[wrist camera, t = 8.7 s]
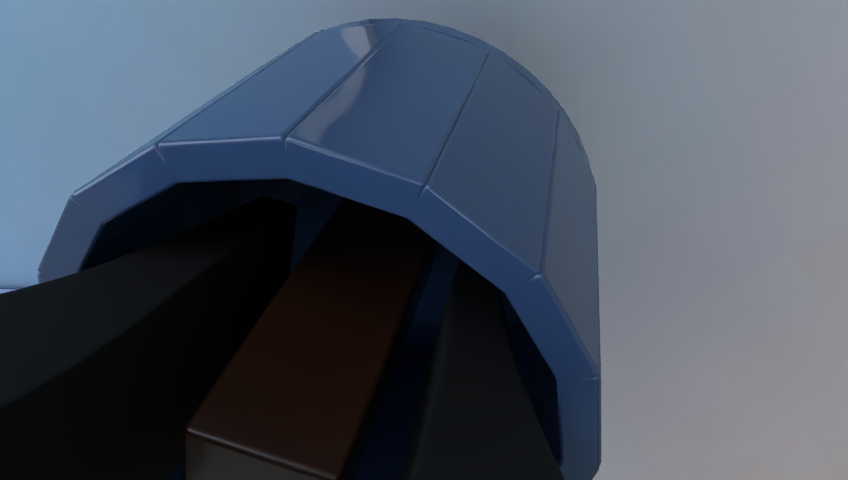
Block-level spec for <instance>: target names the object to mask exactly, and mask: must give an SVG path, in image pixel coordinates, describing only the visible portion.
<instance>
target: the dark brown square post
mask: <svg viewBox="0 0 848 480" xmlns="http://www.w3.org/2000/svg"><path fill="white" fill-rule="evenodd" d="M437 247H438V242H437V241H436V240H434V239H433V238H432V237H430V236H429V235H428V234H426V233H425V232H424V231H423V230H421V229H420V228H419V227H417V226H416V225H415V224H413V223H412V222H411V221H410V220H408V219H407V218H404V217H401V216H398V215H395V214H392V213H389V212H386V211H383V210H380V209H377V208H374V207H371V206H368V205H365V204H362V203H359V202H356V201H353V200H350V199H347V198H343V199H342V201H341V202H340V203H339V205H338V206H337V208H336V209H335V211H334V212H333V214H332V215H331V216H330V218H329V219H328V221H327V222H326V224H325V225H324V226H323V228H322V229H321V231H320V232H319V234H318V235H317V237H316V238H315V239H314V241H313V242H312V244H311V245H310V247H309V248H308V250H307V251H306V252H305V254H304V255H303V257H302V258H301V260H300V261H299V262H298V264H297V265H296V267H295V268H294V270H293V271H292V273H291V274H290V275H289V277H288V278H287V280H286V281H285V283H284V284H283V286H282V287H281V288H280V290H279V291H278V293H277V294H276V296H275V297H274V298H273V300H272V301H271V303H270V304H269V306H268V307H267V309H266V310H265V311H264V313H263V314H262V316H261V317H260V319H259V320H258V322H257V323H256V324H255V326H254V327H253V329H252V330H251V332H250V333H249V334H248V336H247V337H246V339H245V340H244V342H243V343H242V345H241V346H240V347H239V349H238V350H237V352H236V353H235V355H234V356H233V358H232V359H231V360H230V362H229V363H228V365H227V366H226V368H225V369H224V370H223V372H222V373H221V375H220V376H219V378H218V379H217V381H216V382H215V383H214V385H213V386H212V388H211V389H210V391H209V392H208V394H207V395H206V396H205V398H204V399H203V401H202V402H201V404H200V405H199V406H198V408H197V409H196V411H195V412H194V414H193V415H192V417H191V418H190V419H189V421H188V422H187V424H186V425H185V427H184V428H183V480H354V478H355V475H356V473H357V470H358V467H359V464H360V462H361V459H362V456H363V454H364V451H365V448H366V445H367V443H368V440H369V437H370V435H371V432H372V429H373V426H374V424H375V421H376V418H377V416H378V413H379V410H380V407H381V405H382V402H383V399H384V397H385V394H386V391H387V388H388V386H389V383H390V380H391V378H392V375H393V372H394V369H395V367H396V364H397V361H398V359H399V356H400V353H401V350H402V348H403V345H404V342H405V340H406V337H407V334H408V331H409V329H410V326H411V323H412V321H413V318H414V315H415V312H416V310H417V307H418V304H419V302H420V299H421V296H422V293H423V291H424V288H425V285H426V283H427V280H428V277H429V274H430V272H431V269H432V265H433V262H434V258H435V254H436V250H437Z"/></svg>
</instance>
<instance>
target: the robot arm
mask: <svg viewBox="0 0 848 480" xmlns="http://www.w3.org/2000/svg"><path fill="white" fill-rule="evenodd" d="M296 214H297V205H294V204H290V203H287V202H284V201H280V200H277V199H274V198H270V197H267V196H262V197H259V198H257V199H254V200H252V201H250V202H248V203H245V204H243V205H241V206H239V207H237V208H235V209H232V210H230V211H228V212H226V213H224V214H222V215H219V216H217V217H215V218H213V219H211V220H209V221H206V222H204V223H202V224H200V225H197V226H195V227H193V228H191V229H188V230H186V231H184V232H182V233H179V234H177V235H175V236H173V237H170V238H168V239H166V240H163V241H161V242H158V243H156V244H153V245H150V246H148V247H145V248H143V249H140V250H138V251H135V252H133V253H130V254H127V255H125V256H122V257H120V258H117V259H115V260H112V261H110V262H107V263H104V264H101V265H98V266H95V267H92V268H89V269H86V270H83V271H80V272H77V273H74V274H71V275H67V276H64V277H61V278H57V279H54V280H51V281H47V282H44V283H41V284H37V285H34V286H30V287H26V288H22V289H0V480H170V479H171V477H172V475H173V473H174V472H175V470H176V468H177V467H178V465H179V463H180V462H181V460H182V459H183V428H184V427H185V425H186V424H187V422H188V421H189V419H190V418H191V417H192V415H193V414H194V412H195V411H196V409H197V408H198V406H199V405H200V404H201V402H202V401H203V399H204V398H205V396H206V395H207V394H208V392H209V391H210V389H211V388H212V386H213V385H214V383H215V382H216V381H217V379H218V378H219V376H220V375H221V373H222V372H223V370H224V369H225V368H226V366H227V365H228V363H229V362H230V360H231V359H232V358H233V356H234V355H235V353H236V352H237V350H238V349H239V347H240V346H241V345H242V343H243V342H244V340H245V339H246V337H247V336H248V334H249V333H250V332H251V330H252V329H253V327H254V326H255V324H256V323H257V322H258V320H259V319H260V317H261V316H262V314H263V313H264V311H265V310H266V309H267V307H268V306H269V304H270V303H271V301H272V300H273V298H274V297H275V296H276V294H277V293H278V291H279V290H280V288H281V287H282V286H283V284H284V283H285V281H286V280H287V278H288V277H289V275H290V268H291V259H292V250H293V241H294V232H295V223H296ZM402 480H565V478H564V476H563V474H562V472H561V470H560V468H559V466H558V464H557V462H556V460H555V458H554V456H553V454H552V451H551V449H550V447H549V445H548V443H547V440H546V438H545V436H544V434H543V431H542V429H541V427H540V424H539V422H538V419H537V417H536V414H535V412H534V409H533V407H532V404H531V401H530V399H529V396H528V393H527V390H526V387H525V384H524V382H523V379H522V376H521V372H520V369H519V366H518V363H517V359H516V356H515V352H514V348H513V345H512V341H511V337H510V334H509V330H508V325H507V321H506V316H505V311H504V306H503V300H502V294H501V290H500V289H498V288H497V287H496V286H494V285H493V284H492V283H490V282H489V281H488V280H487V279H485V278H484V277H483V276H481V275H480V274H479V273H477V272H476V271H475V270H473V269H472V268H471V267H470V266H468V265H467V264H466V263H464V262H463V261H462V260H460V259H459V261H458V265H457V268H456V271H455V274H454V277H453V281H452V284H451V287H450V291H449V294H448V297H447V301H446V304H445V307H444V311H443V314H442V317H441V321H440V324H439V328H438V331H437V334H436V338H435V341H434V344H433V348H432V351H431V354H430V358H429V361H428V364H427V368H426V371H425V374H424V378H423V381H422V385H421V388H420V391H419V395H418V400H417V405H416V411H415V416H414V421H413V426H412V431H411V436H410V441H409V446H408V451H407V456H406V461H405V466H404V472H403V477H402Z"/></svg>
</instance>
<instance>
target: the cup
mask: <svg viewBox="0 0 848 480" xmlns="http://www.w3.org/2000/svg"><path fill="white" fill-rule="evenodd" d="M262 196H267V197H270V198H274V199H277V200H280V201H284V202H287V203H290V204H294V205H297V214H296V223H295V232H294V241H293V250H292V259H291V268H290V274H291V273H292V271H293V270H294V268H295V267H296V265H297V264H298V262H299V261H300V260H301V258H302V257H303V255H304V254H305V252H306V251H307V250H308V248H309V247H310V245H311V244H312V242H313V241H314V239H315V238H316V237H317V235H318V234H319V232H320V231H321V229H322V228H323V226H324V225H325V224H326V222H327V221H328V219H329V218H330V216H331V215H332V214H333V212H334V211H335V209H336V208H337V206H338V205H339V203H340V202H341V201H342V199H343V198H347V199H350V200H353V201H356V202H359V203H362V204H365V205H368V206H371V207H374V208H377V209H380V210H383V211H386V212H389V213H392V214H395V215H398V216H401V217H404V218H407V219H408V220H410V221H411V222H412V223H413V224H415V225H416V226H417V227H419V228H420V229H421V230H423V231H424V232H425V233H426V234H428V235H429V236H430V237H432V238H433V239H434V240H436V241H437V242H438V247H437V250H436V254H435V258H434V262H433V265H432V269H431V272H430V274H429V277H428V280H427V283H426V285H425V288H424V291H423V293H422V296H421V299H420V302H419V304H418V307H417V310H416V312H415V315H414V318H413V321H412V323H411V326H410V329H409V331H408V334H407V337H406V340H405V342H404V345H403V348H402V350H401V353H400V356H399V359H398V361H397V364H396V367H395V369H394V372H393V375H392V378H391V380H390V383H389V386H388V388H387V391H386V394H385V397H384V399H383V402H382V405H381V407H380V410H379V413H378V416H377V418H376V421H375V424H374V426H373V429H372V432H371V435H370V437H369V440H368V443H367V445H366V448H365V451H364V454H363V456H362V459H361V462H360V464H359V467H358V470H357V473H356V475H355V478H354V480H402V477H403V472H404V466H405V461H406V456H407V451H408V446H409V441H410V436H411V431H412V426H413V421H414V416H415V411H416V405H417V400H418V395H419V391H420V388H421V385H422V381H423V378H424V374H425V371H426V368H427V364H428V361H429V358H430V354H431V351H432V348H433V344H434V341H435V338H436V334H437V331H438V328H439V324H440V321H441V317H442V314H443V311H444V307H445V304H446V301H447V297H448V294H449V291H450V287H451V284H452V281H453V277H454V274H455V271H456V268H457V265H458V261H459V259H460V260H462V261H463V262H464V263H466V264H467V265H468V266H470V267H471V268H472V269H473V270H475V271H476V272H477V273H479V274H480V275H481V276H483V277H484V278H485V279H487V280H488V281H489V282H490V283H492V284H493V285H494V286H496V287H497V288H498V289H500V290H501V294H502V300H503V306H504V311H505V316H506V321H507V325H508V330H509V334H510V337H511V341H512V345H513V348H514V352H515V356H516V359H517V363H518V366H519V369H520V372H521V376H522V379H523V382H524V384H525V387H526V390H527V393H528V396H529V399H530V401H531V404H532V407H533V409H534V412H535V414H536V417H537V419H538V422H539V424H540V427H541V429H542V431H543V434H544V436H545V438H546V440H547V443H548V445H549V447H550V449H551V451H552V454H553V456H554V458H555V460H556V462H557V464H558V466H559V468H560V470H561V472H562V474H563V476H564V478H565V480H592V479H593V478H594V476H595V475H596V473H597V472H598V470H599V466H600V464H601V357H600V317H599V278H598V238H597V199H596V184H595V179H594V177H593V175H592V172H591V168H590V164H589V160H588V157H587V154H586V152H585V149H584V147H583V144H582V142H581V139H580V137H579V135H578V133H577V131H576V129H575V128H574V126H573V124H572V122H571V121H570V119H569V117H568V116H567V114H566V112H565V111H564V109H563V108H562V107H561V106H560V104H559V103H558V102H557V101H556V99H555V98H554V97H553V95H552V94H551V93H550V92H549V90H548V89H547V88H546V87H545V86H544V85H543V84H542V83H541V82H540V81H539V80H537V79H536V78H535V77H534V76H533V75H532V74H531V73H530V72H529V71H528V70H527V69H526V68H524V67H523V66H522V65H520V64H519V63H518V62H516V61H515V60H513V59H512V58H511V57H509V56H508V55H507V54H505V53H504V52H502V51H500V50H498V49H497V48H495V47H493V46H491V45H489V44H488V43H486V42H484V41H482V40H480V39H478V38H476V37H473V36H471V35H468V34H466V33H463V32H460V31H458V30H455V29H453V28H449V27H445V26H441V25H437V24H433V23H429V22H425V21H416V20H407V19H397V18H393V19H368V20H362V21H357V22H351V23H346V24H341V25H338V26H335V27H332V28H329V29H326V30H321V31H319V32H315V33H313V34H312V35H310V36H309V37H307V38H305V39H304V40H302V41H300V42H299V43H297V44H295V45H294V46H292V47H291V48H289V49H288V50H286V51H285V52H283V53H281V54H280V55H278V56H277V57H275V58H273V59H272V60H270V61H269V62H267V63H265V64H264V65H262V66H261V67H259V68H257V69H256V70H254V71H253V72H251V73H250V74H248V75H247V76H245V77H244V78H242V79H241V80H239V81H238V82H237V83H235V84H234V85H232V86H231V87H229V88H228V89H226V90H225V91H223V92H222V93H220V94H219V95H217V96H216V97H214V98H213V99H211V100H210V101H208V102H207V103H205V104H204V105H202V106H201V107H199V108H198V109H196V110H195V111H193V112H192V113H190V114H189V115H187V116H186V117H184V118H183V119H181V120H180V121H178V122H177V123H175V124H174V125H173V126H171V127H170V128H168V129H167V130H165V131H164V132H162V133H161V134H159V135H158V136H156V137H155V138H153V139H152V140H150V141H149V142H147V143H146V144H144V145H143V146H141V147H140V148H138V149H137V150H135V151H134V152H132V153H131V154H129V155H128V156H126V157H125V158H123V159H122V160H120V161H119V162H117V163H116V164H114V165H113V166H112V167H110V168H109V169H107V170H106V171H104V172H103V173H101V174H100V175H98V176H97V177H95V178H94V179H92V180H91V181H89V182H88V183H86V184H85V185H83V186H82V187H80V188H79V189H77V190H76V191H75V192H74V194H73V195H71V196H70V197H69V200H68V202H67V204H66V206H65V209H64V211H63V213H62V216H61V218H60V220H59V222H58V225H57V227H56V229H55V232H54V234H53V236H52V238H51V241H50V243H49V245H48V248H47V250H46V252H45V254H44V257H43V259H42V261H41V264H40V266H39V268H38V271H39V273H38V281H39V284H41V283H44V282H47V281H51V280H54V279H57V278H61V277H64V276H67V275H71V274H74V273H77V272H80V271H83V270H86V269H89V268H92V267H95V266H98V265H101V264H104V263H107V262H110V261H112V260H115V259H117V258H120V257H122V256H125V255H127V254H130V253H133V252H135V251H138V250H140V249H143V248H145V247H148V246H150V245H153V244H156V243H158V242H161V241H163V240H166V239H168V238H170V237H173V236H175V235H177V234H179V233H182V232H184V231H186V230H188V229H191V228H193V227H195V226H197V225H200V224H202V223H204V222H206V221H209V220H211V219H213V218H215V217H217V216H219V215H222V214H224V213H226V212H228V211H230V210H232V209H235V208H237V207H239V206H241V205H243V204H245V203H248V202H250V201H252V200H254V199H257V198H259V197H262ZM170 480H183V459H182V460H181V462H180V463H179V465H178V467H177V468H176V470H175V472H174V473H173V475H172V477H171V479H170Z"/></svg>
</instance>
